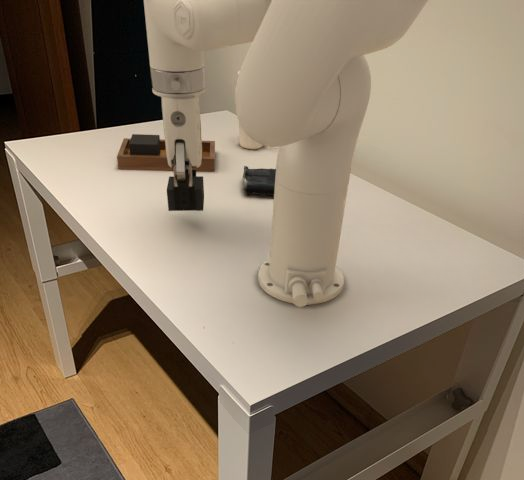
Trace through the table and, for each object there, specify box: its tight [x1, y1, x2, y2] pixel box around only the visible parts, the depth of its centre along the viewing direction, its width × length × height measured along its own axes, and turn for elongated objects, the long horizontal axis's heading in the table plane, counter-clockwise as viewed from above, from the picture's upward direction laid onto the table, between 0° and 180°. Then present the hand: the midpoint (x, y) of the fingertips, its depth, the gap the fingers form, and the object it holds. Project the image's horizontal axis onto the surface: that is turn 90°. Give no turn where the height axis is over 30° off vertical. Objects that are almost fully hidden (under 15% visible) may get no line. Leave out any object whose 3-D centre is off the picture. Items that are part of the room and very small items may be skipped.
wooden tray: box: [116, 137, 216, 172], centre depth 114 cm, size 10×19×3 cm, turn 93°
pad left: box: [129, 133, 161, 156], centre depth 112 cm, size 6×6×4 cm
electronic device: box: [242, 165, 276, 196], centre depth 105 cm, size 9×6×15 cm
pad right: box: [166, 175, 205, 212], centre depth 89 cm, size 6×6×4 cm
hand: (186, 200), depth 90 cm, fingers closed on pad right, 5 cm apart
